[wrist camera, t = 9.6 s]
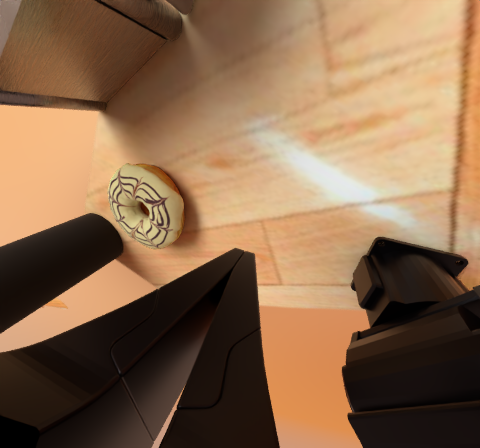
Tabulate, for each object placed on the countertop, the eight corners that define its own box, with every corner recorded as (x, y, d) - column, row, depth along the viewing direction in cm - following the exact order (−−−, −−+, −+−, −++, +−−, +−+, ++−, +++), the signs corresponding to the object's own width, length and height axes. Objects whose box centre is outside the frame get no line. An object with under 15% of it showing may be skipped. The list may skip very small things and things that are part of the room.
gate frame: (100, 114, 22) (-34, 108, 14) (89, 96, 21) (-57, 77, 13) (185, 29, 15) (25, -86, 7) (173, -1, 15) (-18, -167, 6)
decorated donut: (201, 187, 22) (181, 198, 19) (182, 250, 28) (165, 266, 24) (128, 146, 23) (98, 150, 20) (126, 215, 29) (102, 226, 25)
